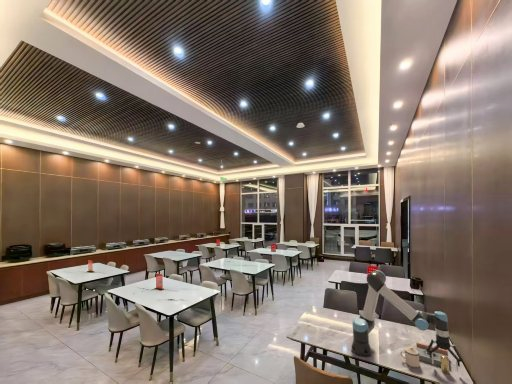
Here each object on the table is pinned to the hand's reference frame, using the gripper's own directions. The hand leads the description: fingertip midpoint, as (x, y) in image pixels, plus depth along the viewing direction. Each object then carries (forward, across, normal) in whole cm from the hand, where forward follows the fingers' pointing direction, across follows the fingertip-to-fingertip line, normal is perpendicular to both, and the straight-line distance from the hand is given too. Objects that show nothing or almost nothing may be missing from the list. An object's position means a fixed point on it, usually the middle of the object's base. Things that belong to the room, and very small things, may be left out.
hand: (444, 366), depth 164 cm
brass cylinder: (+3, 0, 0) cm, 3 cm away
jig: (+3, -8, +12) cm, 15 cm away
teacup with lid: (+3, -20, -4) cm, 21 cm away
